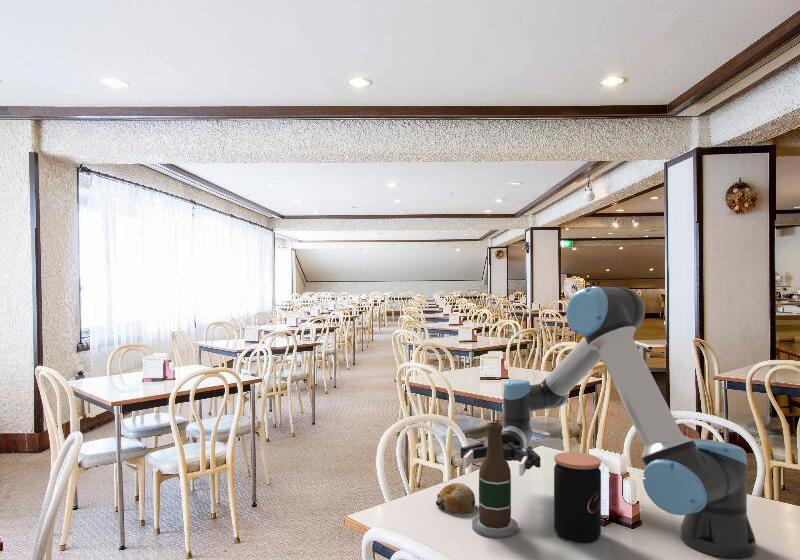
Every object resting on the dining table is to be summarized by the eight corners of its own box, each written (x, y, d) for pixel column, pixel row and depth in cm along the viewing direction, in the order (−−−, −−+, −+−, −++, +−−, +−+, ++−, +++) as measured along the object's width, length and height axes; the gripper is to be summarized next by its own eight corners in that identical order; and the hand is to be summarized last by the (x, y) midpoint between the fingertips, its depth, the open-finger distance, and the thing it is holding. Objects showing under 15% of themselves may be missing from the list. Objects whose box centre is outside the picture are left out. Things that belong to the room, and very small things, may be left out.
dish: (514, 519, 145) (514, 513, 145) (521, 538, 134) (521, 532, 134) (470, 518, 145) (470, 513, 145) (474, 537, 134) (474, 531, 134)
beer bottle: (514, 529, 136) (514, 427, 136) (481, 529, 136) (481, 427, 136) (507, 515, 144) (507, 419, 144) (476, 515, 144) (476, 419, 144)
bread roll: (466, 529, 147) (480, 502, 147) (430, 509, 149) (444, 482, 149) (469, 514, 157) (482, 488, 157) (435, 495, 159) (448, 470, 158)
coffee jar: (594, 548, 129) (594, 468, 129) (548, 537, 135) (548, 460, 135) (605, 531, 138) (605, 456, 138) (561, 521, 144) (561, 449, 144)
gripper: (556, 462, 152) (545, 489, 133) (465, 452, 162) (442, 475, 142) (556, 434, 152) (545, 456, 133) (465, 425, 162) (442, 445, 142)
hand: (492, 466), depth 137 cm, fingers open, 13 cm apart
